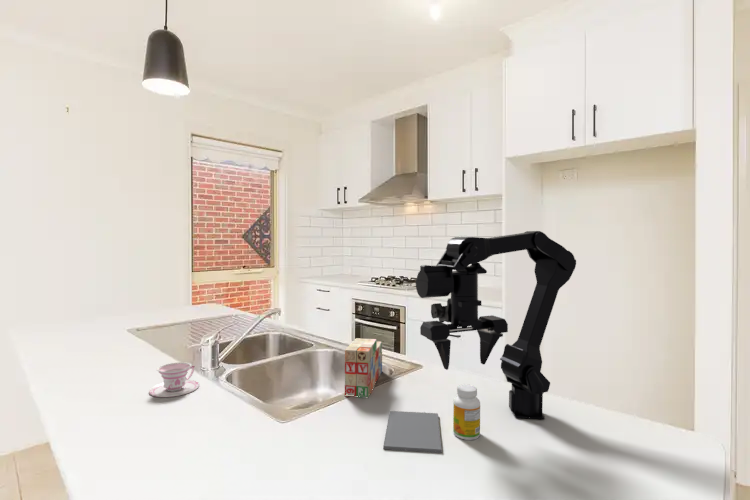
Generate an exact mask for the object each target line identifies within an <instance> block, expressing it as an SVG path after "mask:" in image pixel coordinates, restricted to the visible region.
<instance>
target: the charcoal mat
mask: <svg viewBox="0 0 750 500" xmlns="http://www.w3.org/2000/svg"><path fill="white" fill-rule="evenodd" d="M440 430H441V429H440V421H439V413H438V412H419V411H401V410H400V411H399V410H397V411H396V410H389V413H388V417H387V424H386V429H385V435H384V440H383V445H382V447H383V450H393V451H406V450H407V451H408V452H409V451H410V452H422V451H425V453H441V454H442V452H443V451H442V440H441V432H440ZM407 451H406V452H407Z"/></svg>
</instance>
